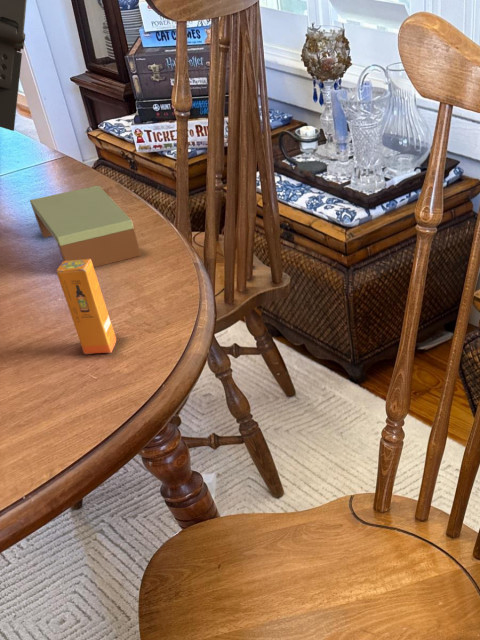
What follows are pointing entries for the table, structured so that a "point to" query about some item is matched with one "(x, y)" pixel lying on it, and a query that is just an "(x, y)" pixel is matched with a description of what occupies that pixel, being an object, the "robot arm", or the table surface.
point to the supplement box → (87, 306)
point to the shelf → (87, 226)
